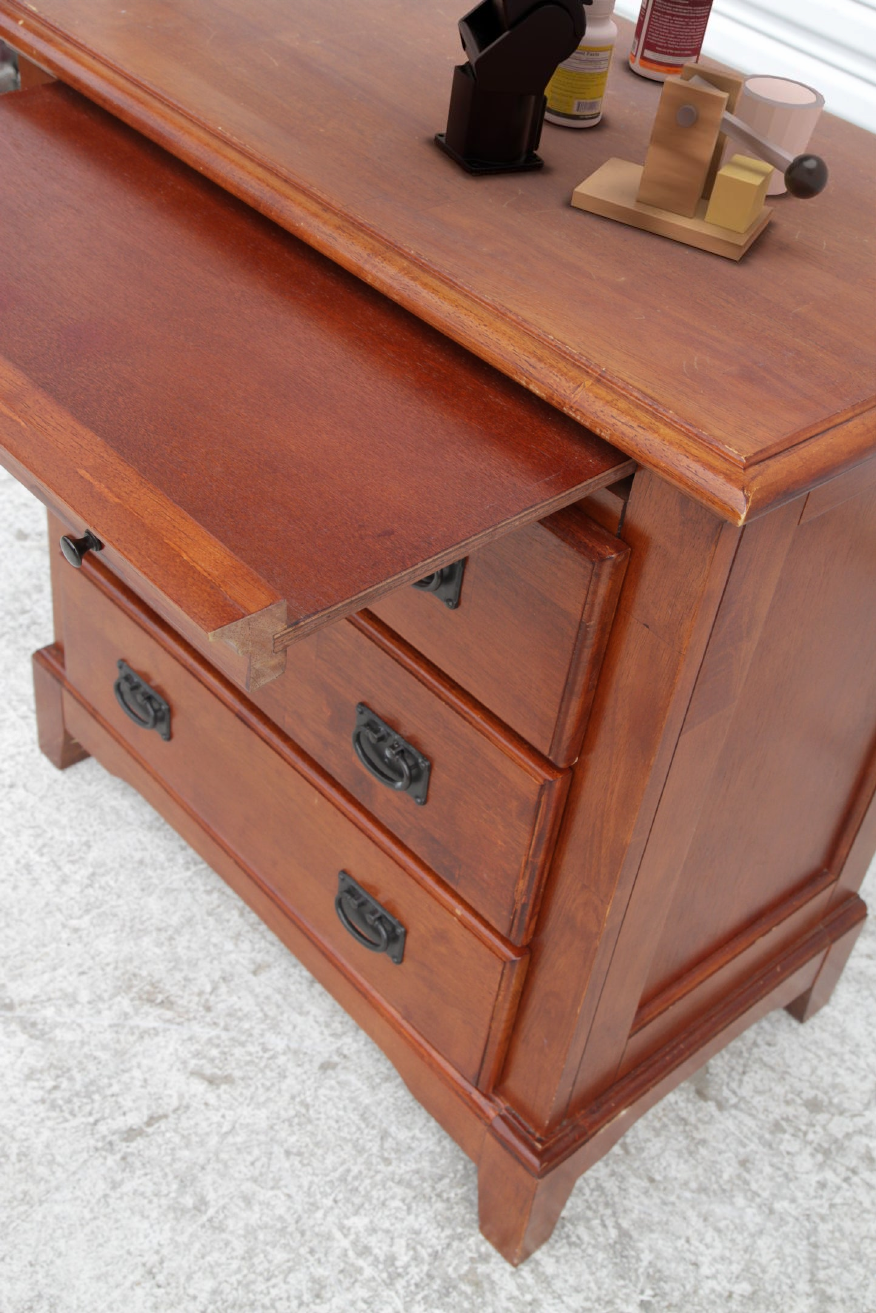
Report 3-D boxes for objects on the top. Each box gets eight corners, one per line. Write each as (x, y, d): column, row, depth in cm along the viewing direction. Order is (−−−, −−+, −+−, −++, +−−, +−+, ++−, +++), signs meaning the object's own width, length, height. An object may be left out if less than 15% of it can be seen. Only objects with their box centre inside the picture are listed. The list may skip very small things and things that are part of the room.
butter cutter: (768, 223, 97) (810, 89, 90) (737, 261, 91) (780, 122, 85) (609, 171, 100) (638, 39, 93) (570, 205, 94) (598, 67, 88)
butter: (743, 234, 92) (758, 185, 89) (703, 221, 93) (717, 172, 90) (760, 213, 95) (775, 165, 92) (721, 201, 96) (735, 153, 93)
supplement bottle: (548, 98, 110) (570, -26, 103) (608, 115, 109) (634, -10, 102) (526, 117, 106) (549, -11, 99) (588, 135, 105) (615, 7, 98)
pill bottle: (707, 82, 118) (742, -50, 111) (657, 88, 115) (689, -47, 108) (663, 57, 122) (694, -72, 114) (613, 62, 119) (642, -70, 111)
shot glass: (737, 154, 106) (763, 66, 101) (811, 184, 103) (841, 95, 99) (695, 174, 102) (720, 83, 97) (771, 206, 99) (800, 114, 94)
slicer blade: (816, 199, 92) (842, 163, 90) (806, 213, 90) (831, 176, 87) (678, 107, 92) (700, 69, 90) (665, 119, 90) (686, 80, 88)
